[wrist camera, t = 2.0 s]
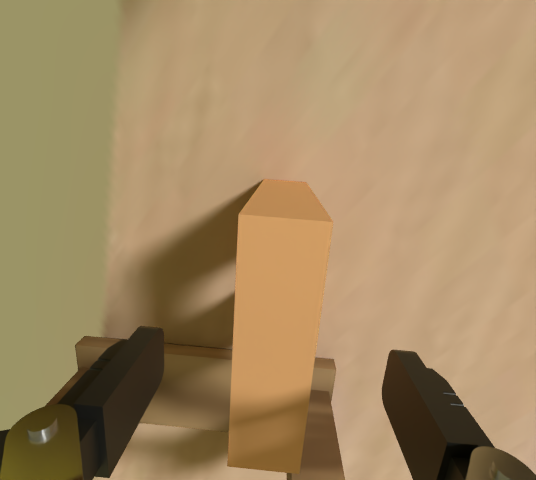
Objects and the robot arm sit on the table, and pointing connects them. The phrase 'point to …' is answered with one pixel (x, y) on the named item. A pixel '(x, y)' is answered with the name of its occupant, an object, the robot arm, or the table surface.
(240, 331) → the orange block
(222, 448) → the table surface
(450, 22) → the table surface
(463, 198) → the table surface
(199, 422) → the rail
